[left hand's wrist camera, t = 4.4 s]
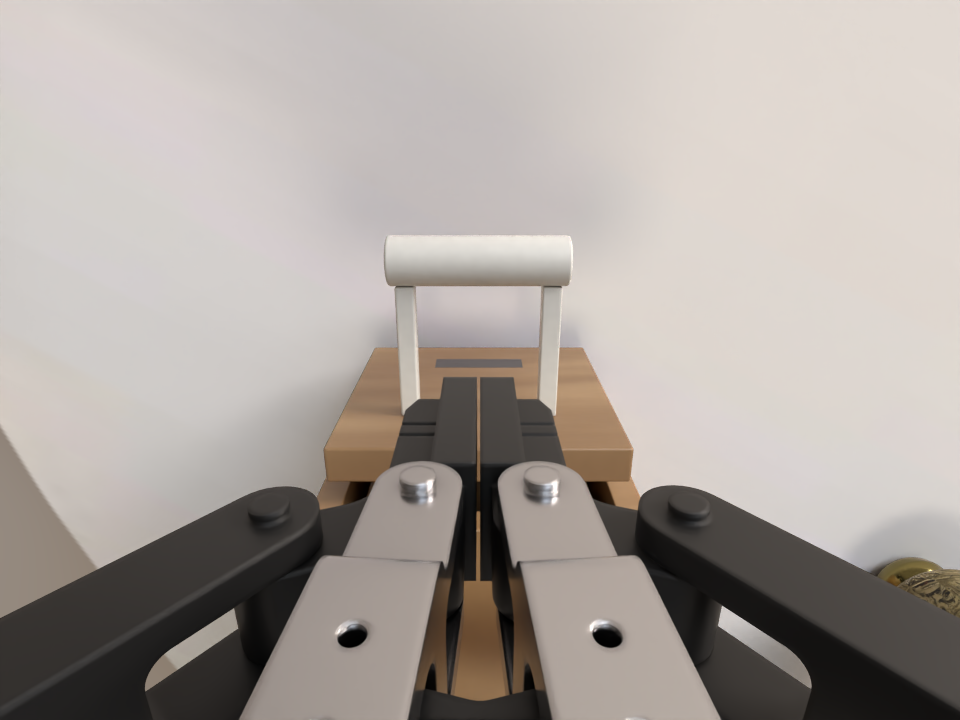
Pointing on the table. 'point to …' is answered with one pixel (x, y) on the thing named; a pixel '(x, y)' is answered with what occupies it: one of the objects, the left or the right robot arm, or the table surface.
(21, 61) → the table surface
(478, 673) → the cabinet
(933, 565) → the cup
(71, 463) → the table surface
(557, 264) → the drawer
